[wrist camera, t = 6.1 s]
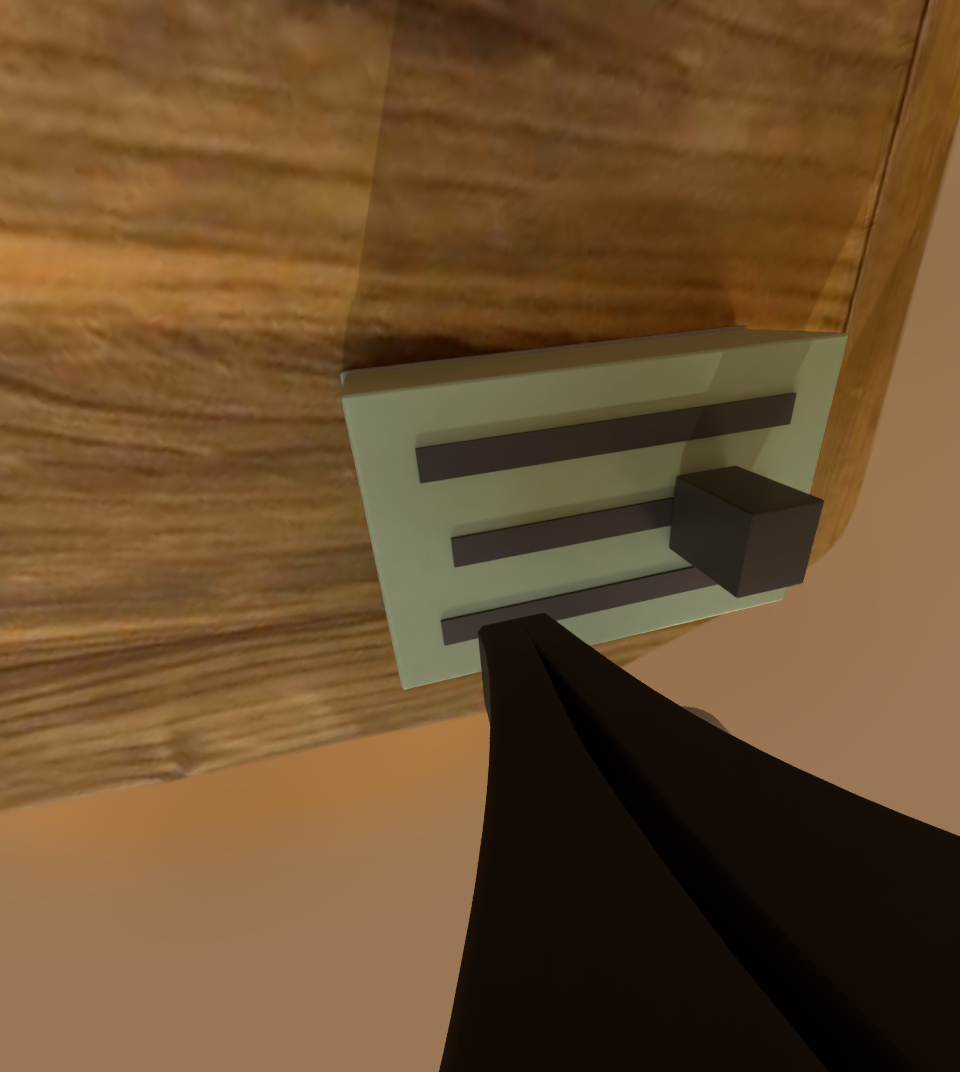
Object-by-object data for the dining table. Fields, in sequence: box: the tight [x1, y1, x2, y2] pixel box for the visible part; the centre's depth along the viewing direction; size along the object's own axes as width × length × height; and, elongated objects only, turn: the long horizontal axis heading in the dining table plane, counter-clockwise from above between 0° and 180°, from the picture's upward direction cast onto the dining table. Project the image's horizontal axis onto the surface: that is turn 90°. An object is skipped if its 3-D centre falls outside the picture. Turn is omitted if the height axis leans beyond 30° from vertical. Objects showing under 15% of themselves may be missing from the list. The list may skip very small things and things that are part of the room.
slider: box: [669, 466, 824, 598], centre depth 13 cm, size 2×2×3 cm
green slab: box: [340, 326, 848, 689], centre depth 16 cm, size 9×14×5 cm, turn 95°
